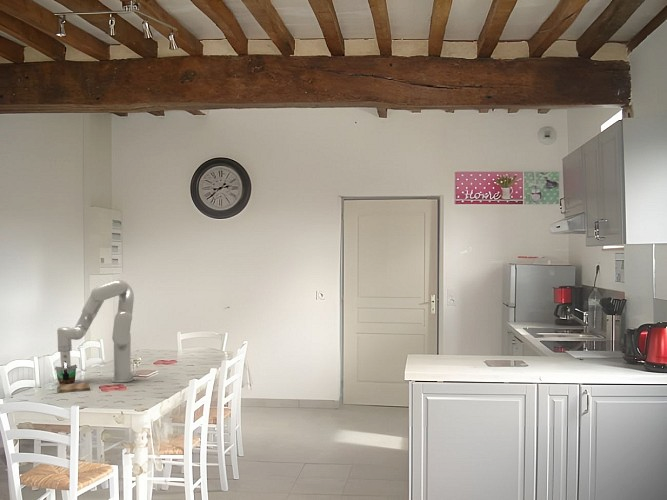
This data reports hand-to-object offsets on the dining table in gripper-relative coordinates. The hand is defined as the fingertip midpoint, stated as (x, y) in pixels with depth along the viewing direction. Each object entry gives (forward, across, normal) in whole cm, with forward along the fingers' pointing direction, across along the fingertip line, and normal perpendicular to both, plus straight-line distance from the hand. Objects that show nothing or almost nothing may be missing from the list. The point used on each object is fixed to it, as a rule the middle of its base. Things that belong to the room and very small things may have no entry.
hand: (65, 379), depth 410 cm
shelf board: (+3, -19, -4) cm, 20 cm away
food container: (+2, -1, 0) cm, 2 cm away
